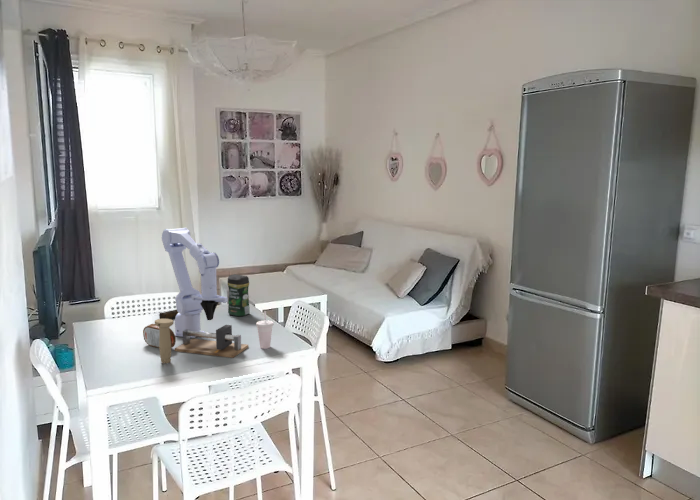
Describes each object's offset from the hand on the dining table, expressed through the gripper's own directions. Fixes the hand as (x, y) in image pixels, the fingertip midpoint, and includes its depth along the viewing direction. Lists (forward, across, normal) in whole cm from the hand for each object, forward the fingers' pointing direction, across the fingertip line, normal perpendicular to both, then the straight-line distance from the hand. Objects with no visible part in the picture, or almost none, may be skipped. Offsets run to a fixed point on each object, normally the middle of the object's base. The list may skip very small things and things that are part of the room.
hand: (210, 319), depth 206 cm
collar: (+8, +9, -6) cm, 14 cm away
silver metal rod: (+9, +4, -6) cm, 12 cm away
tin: (+10, -16, -10) cm, 21 cm away
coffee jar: (+10, -9, +40) cm, 42 cm away
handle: (+10, -4, -23) cm, 25 cm away
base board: (+9, +4, -6) cm, 12 cm away
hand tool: (+10, -34, +29) cm, 46 cm away
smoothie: (+10, +22, +2) cm, 24 cm away
